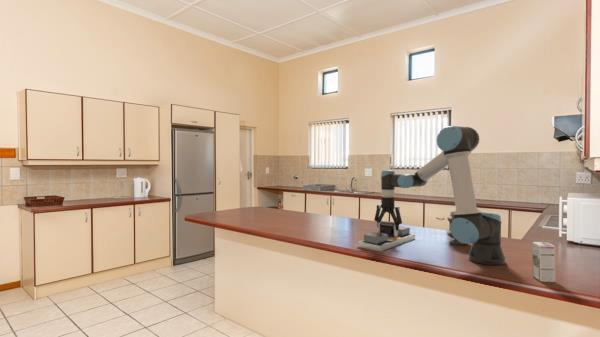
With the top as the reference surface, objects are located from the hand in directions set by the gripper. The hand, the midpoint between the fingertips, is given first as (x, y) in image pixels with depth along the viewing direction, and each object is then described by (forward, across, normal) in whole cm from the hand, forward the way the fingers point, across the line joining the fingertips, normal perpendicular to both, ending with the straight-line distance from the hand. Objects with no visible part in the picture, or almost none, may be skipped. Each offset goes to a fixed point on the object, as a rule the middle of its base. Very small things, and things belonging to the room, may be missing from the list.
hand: (387, 234), depth 193 cm
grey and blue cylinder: (+5, -30, -27) cm, 41 cm away
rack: (+5, 0, 0) cm, 5 cm away
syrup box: (+5, -76, +11) cm, 77 cm away
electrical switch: (+1, 0, 0) cm, 1 cm away
